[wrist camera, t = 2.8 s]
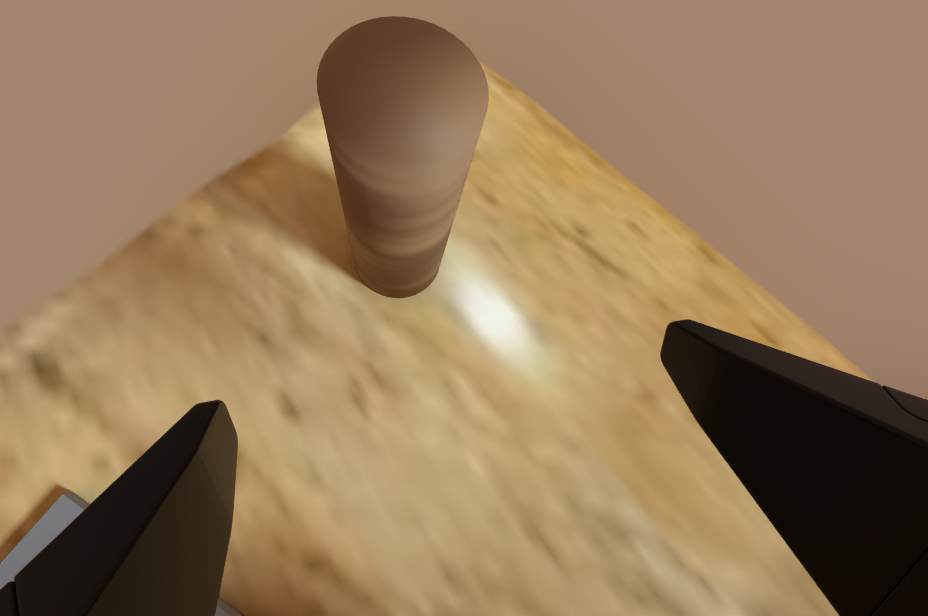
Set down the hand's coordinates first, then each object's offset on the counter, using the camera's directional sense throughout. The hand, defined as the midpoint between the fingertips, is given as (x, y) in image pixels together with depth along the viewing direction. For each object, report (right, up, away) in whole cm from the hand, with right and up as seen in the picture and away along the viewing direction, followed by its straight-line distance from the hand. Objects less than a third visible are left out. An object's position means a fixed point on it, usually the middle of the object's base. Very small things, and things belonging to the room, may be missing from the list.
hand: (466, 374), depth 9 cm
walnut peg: (-3, +4, +15) cm, 16 cm away
